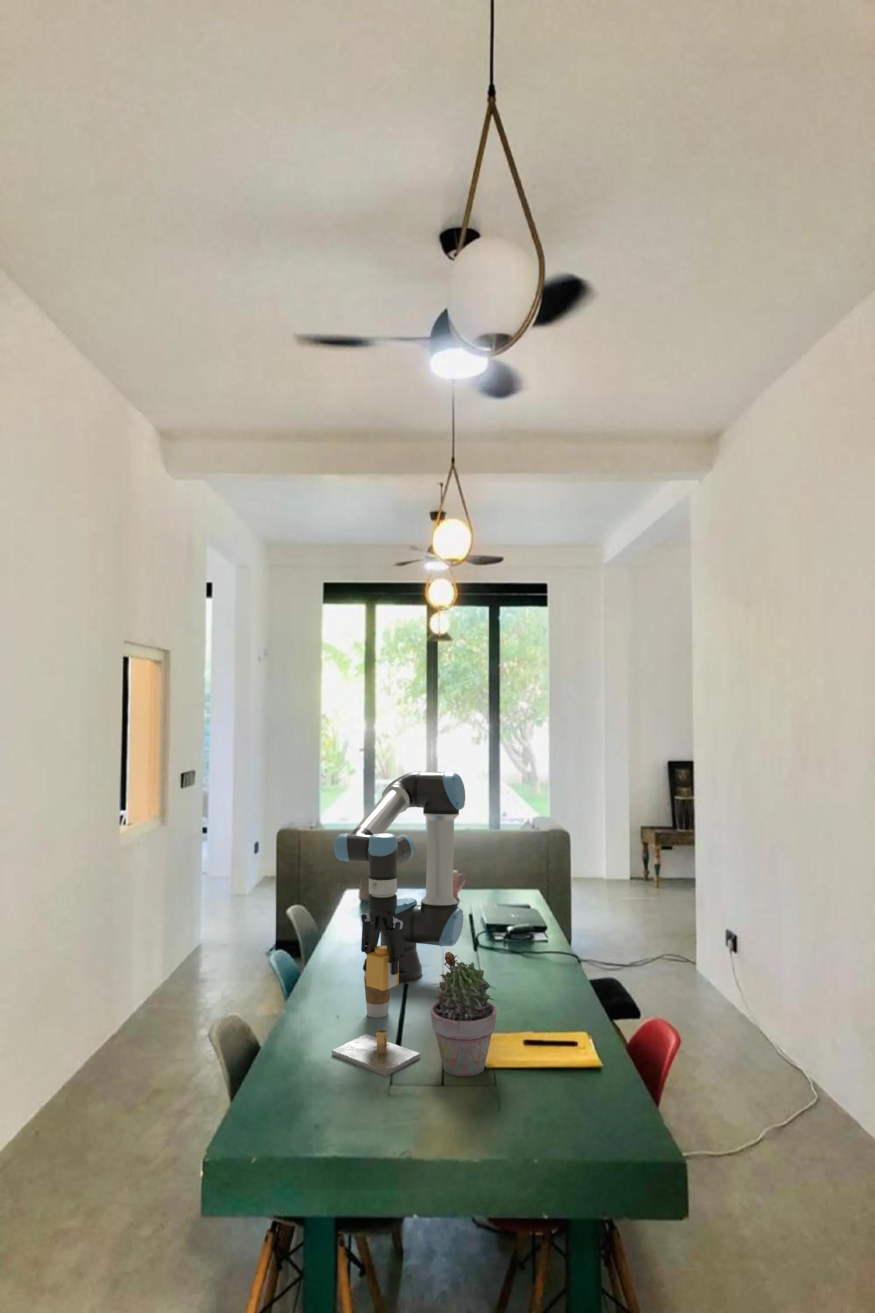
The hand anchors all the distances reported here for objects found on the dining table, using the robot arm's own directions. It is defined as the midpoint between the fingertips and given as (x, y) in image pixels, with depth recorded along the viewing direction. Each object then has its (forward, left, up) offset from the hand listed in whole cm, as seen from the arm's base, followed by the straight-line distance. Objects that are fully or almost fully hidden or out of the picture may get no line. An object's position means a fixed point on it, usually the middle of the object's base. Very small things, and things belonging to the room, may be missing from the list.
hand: (382, 983), depth 198 cm
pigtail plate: (+8, -11, -13) cm, 19 cm away
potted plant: (+29, -2, -13) cm, 32 cm away
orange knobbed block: (0, 0, 0) cm, 0 cm away
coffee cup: (-10, +9, -13) cm, 19 cm away
